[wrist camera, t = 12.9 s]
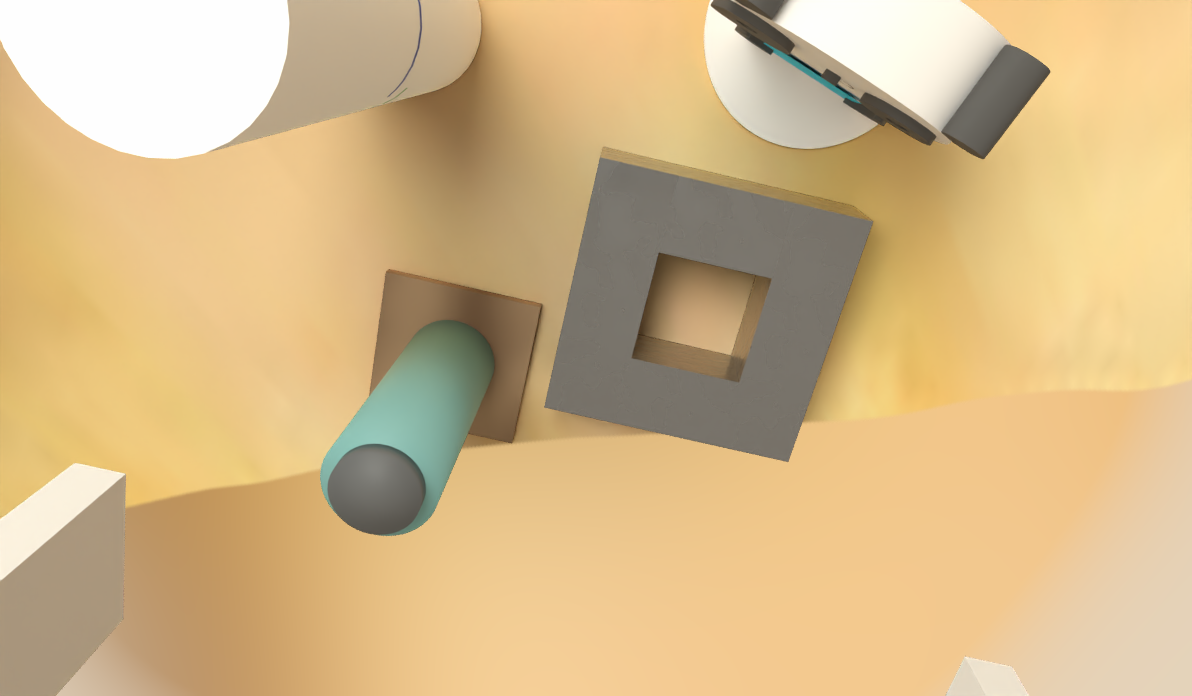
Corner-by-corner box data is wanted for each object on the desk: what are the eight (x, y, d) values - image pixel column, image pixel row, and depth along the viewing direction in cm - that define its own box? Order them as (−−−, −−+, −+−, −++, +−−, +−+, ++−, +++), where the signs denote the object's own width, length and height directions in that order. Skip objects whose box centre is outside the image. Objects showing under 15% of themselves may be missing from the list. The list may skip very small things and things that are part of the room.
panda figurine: (650, 68, 43) (657, 84, 29) (777, -149, 39) (857, -253, 25) (839, 187, 44) (932, 258, 30) (978, -9, 41) (1157, -33, 27)
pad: (370, 406, 50) (367, 411, 50) (388, 269, 47) (385, 271, 46) (513, 438, 51) (511, 443, 50) (541, 304, 47) (540, 307, 47)
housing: (551, 379, 49) (544, 407, 45) (603, 146, 44) (600, 157, 40) (776, 429, 50) (788, 461, 46) (853, 205, 45) (873, 221, 41)
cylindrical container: (509, 12, 42) (348, -18, 19) (428, 121, 44) (191, 218, 21) (396, -89, 40) (69, -259, 17) (318, 29, 43) (-69, 20, 19)
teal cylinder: (402, 391, 49) (308, 532, 35) (413, 311, 47) (319, 427, 33) (486, 409, 49) (426, 557, 36) (501, 330, 47) (443, 455, 34)
